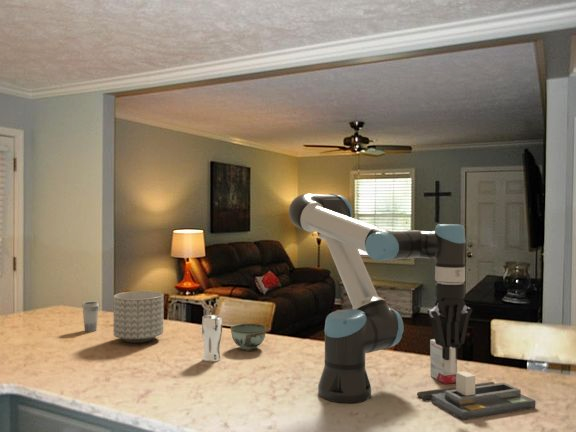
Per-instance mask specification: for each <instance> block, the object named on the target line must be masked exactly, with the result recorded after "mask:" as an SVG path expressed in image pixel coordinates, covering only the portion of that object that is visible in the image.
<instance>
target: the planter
mask: <svg viewBox="0 0 576 432" xmlns="http://www.w3.org/2000/svg"><path fill="white" fill-rule="evenodd" d="M164 302H165V301H164V293H162V292H159V291H152V290H137V291H136V290H135V291H125V292H119V293H116V294H114V295H113V336H114V337H115V338H118V339H121V340H122V341H125V342H127V343H129V344H144V343H147V342H149V341H153V339H155V338H156V337H158V336H160V335H162V334H163V333H164V305H165V304H164Z"/></svg>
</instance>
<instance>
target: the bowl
mask: <svg viewBox="0 0 576 432" xmlns="http://www.w3.org/2000/svg"><path fill="white" fill-rule="evenodd" d="M229 330H230V333H231V338H232V340H233V341H234V343H235V345H236V346H238V347H239V349H240V350H241V351H244V352H245V351H246V352H247V351H248V352H250V351H255V350H257V347H259V346H260V345H261V344H262V343H263V342H264V340H265V338H266V333H267V327H266V326H265V325H264V324H261V323H260V324H259V323H241V324H235V325H232V326H231V327H230V329H229Z"/></svg>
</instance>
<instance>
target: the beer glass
mask: <svg viewBox="0 0 576 432" xmlns="http://www.w3.org/2000/svg"><path fill="white" fill-rule="evenodd" d="M222 323H223V321H222V316H221V315H219V314H205V315H203V316H202V322H201V337H202V342H203V357H202V360H203V361H204V362H206V363H215V362H218V361H220V360H221V359H222V357H221V352H220V345H221V340H222V335H223V334H222V333H223V324H222Z"/></svg>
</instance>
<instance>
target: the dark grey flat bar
mask: <svg viewBox="0 0 576 432" xmlns="http://www.w3.org/2000/svg"><path fill="white" fill-rule="evenodd" d="M490 384H496V383H495V382H494V381H488V382H487V381H486V382H480V383H475V386H483V385H490ZM454 389H456V386H451V387H445V388H437V389H431V390H421V391H418V392H416V396H417V397H418V398H421V399H422V401H423V400H424V401H427V400H431V395H432V394H439V393H445V391H447V390H454Z"/></svg>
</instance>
